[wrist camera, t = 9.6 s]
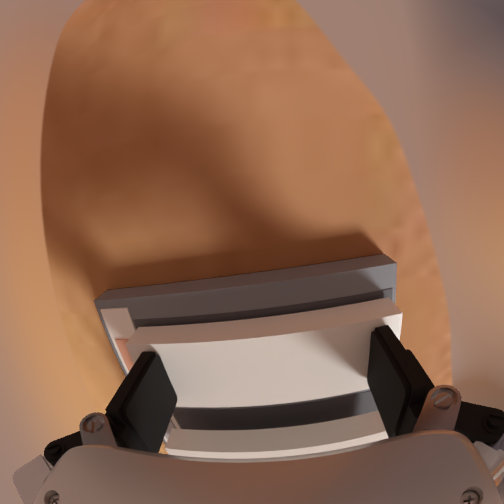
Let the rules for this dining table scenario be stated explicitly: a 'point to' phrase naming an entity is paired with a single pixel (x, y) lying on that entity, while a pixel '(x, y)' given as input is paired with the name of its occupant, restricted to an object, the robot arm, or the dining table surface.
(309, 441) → the middle switch
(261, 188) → the dining table surface
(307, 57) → the dining table surface
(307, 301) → the switch board
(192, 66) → the dining table surface
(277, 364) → the switch
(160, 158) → the dining table surface
